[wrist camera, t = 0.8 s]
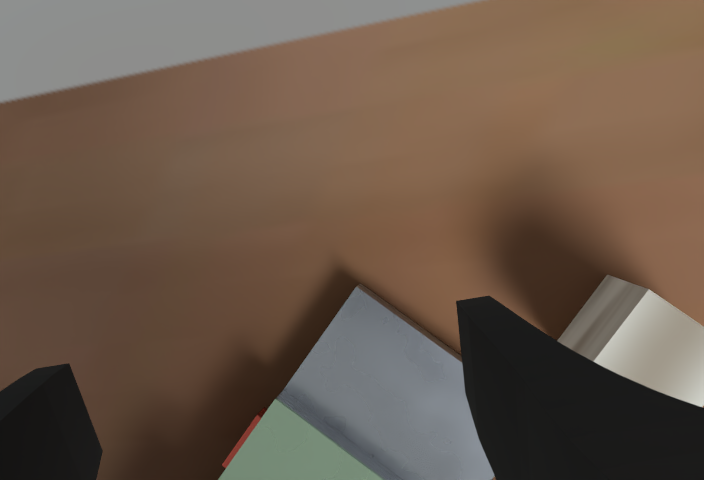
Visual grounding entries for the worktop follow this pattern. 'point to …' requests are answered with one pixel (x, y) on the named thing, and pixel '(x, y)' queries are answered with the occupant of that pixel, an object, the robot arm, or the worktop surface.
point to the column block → (640, 339)
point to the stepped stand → (367, 408)
